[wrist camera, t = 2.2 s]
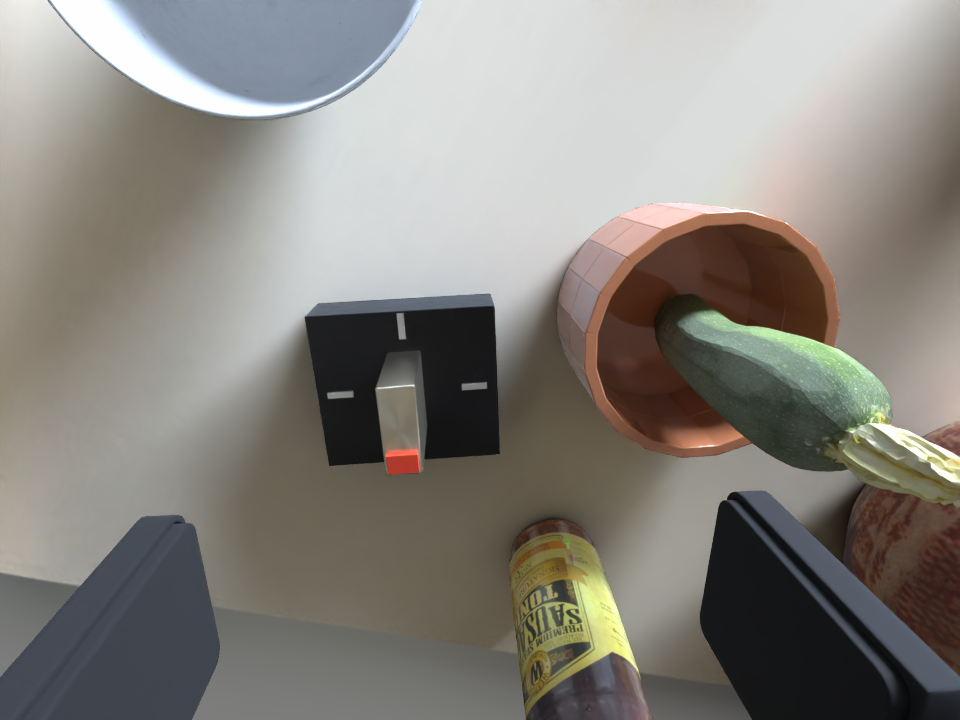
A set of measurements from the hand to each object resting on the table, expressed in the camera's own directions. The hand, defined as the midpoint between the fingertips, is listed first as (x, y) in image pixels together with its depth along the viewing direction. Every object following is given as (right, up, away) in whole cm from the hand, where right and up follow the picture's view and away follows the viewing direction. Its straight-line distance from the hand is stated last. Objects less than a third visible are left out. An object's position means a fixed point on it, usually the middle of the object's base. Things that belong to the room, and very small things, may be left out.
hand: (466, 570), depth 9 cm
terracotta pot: (+11, +7, +22) cm, 26 cm away
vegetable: (+11, +7, +22) cm, 26 cm away
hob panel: (-4, +3, +23) cm, 23 cm away
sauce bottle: (+5, -10, +28) cm, 30 cm away
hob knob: (-4, +2, +20) cm, 20 cm away
